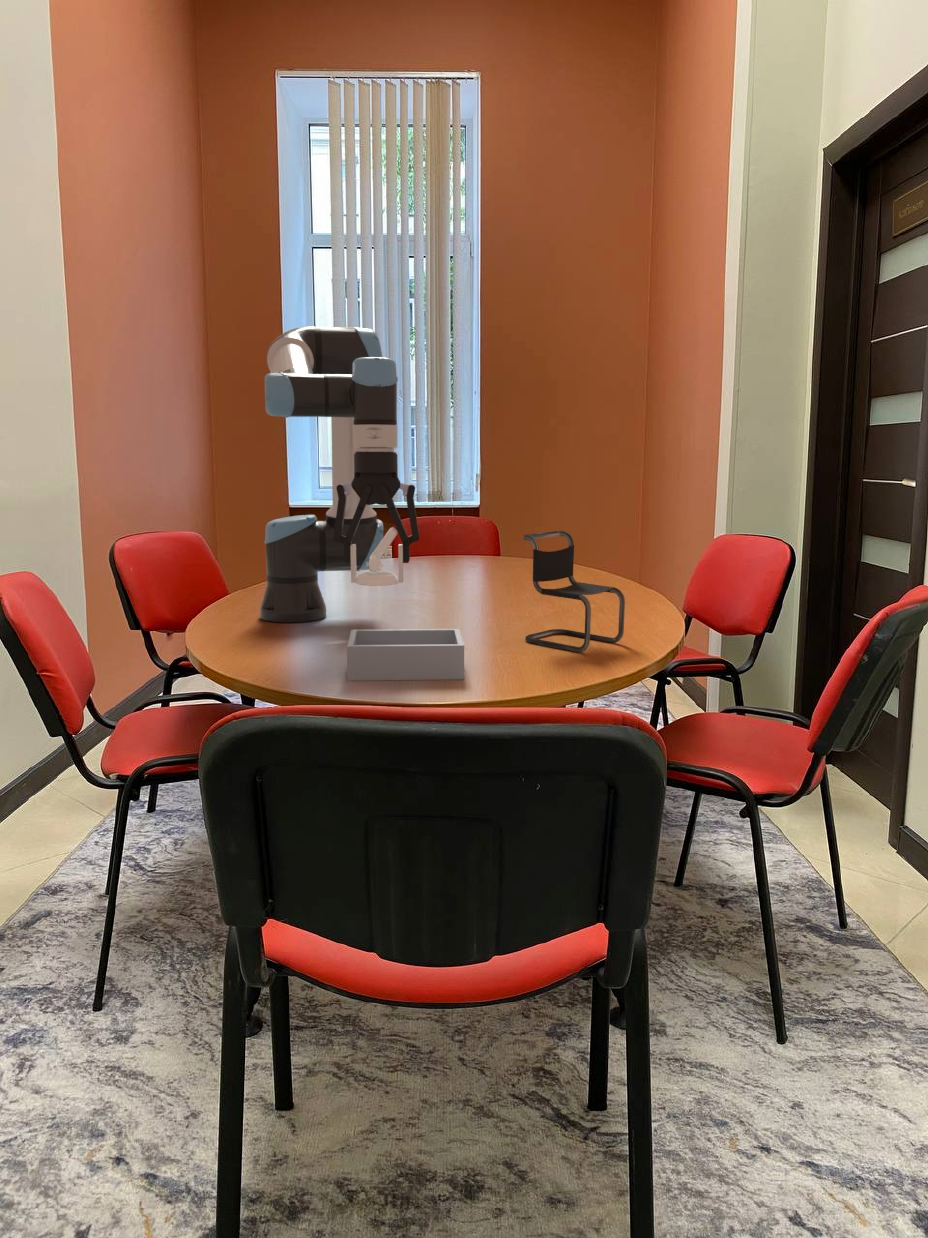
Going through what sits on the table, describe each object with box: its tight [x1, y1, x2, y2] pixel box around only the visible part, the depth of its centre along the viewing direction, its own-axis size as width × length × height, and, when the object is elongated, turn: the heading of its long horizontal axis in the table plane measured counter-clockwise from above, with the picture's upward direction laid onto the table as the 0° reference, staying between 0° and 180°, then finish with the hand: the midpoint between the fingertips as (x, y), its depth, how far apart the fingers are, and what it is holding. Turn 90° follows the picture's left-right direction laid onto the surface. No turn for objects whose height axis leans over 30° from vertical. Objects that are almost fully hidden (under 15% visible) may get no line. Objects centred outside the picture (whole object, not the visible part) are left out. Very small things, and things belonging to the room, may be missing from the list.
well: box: [346, 628, 465, 682], centre depth 162 cm, size 14×20×6 cm
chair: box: [523, 530, 626, 653], centre depth 184 cm, size 13×17×22 cm
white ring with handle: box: [355, 526, 399, 587], centre depth 160 cm, size 8×12×7 cm
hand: (377, 581), depth 161 cm, fingers closed on white ring with handle, 8 cm apart
